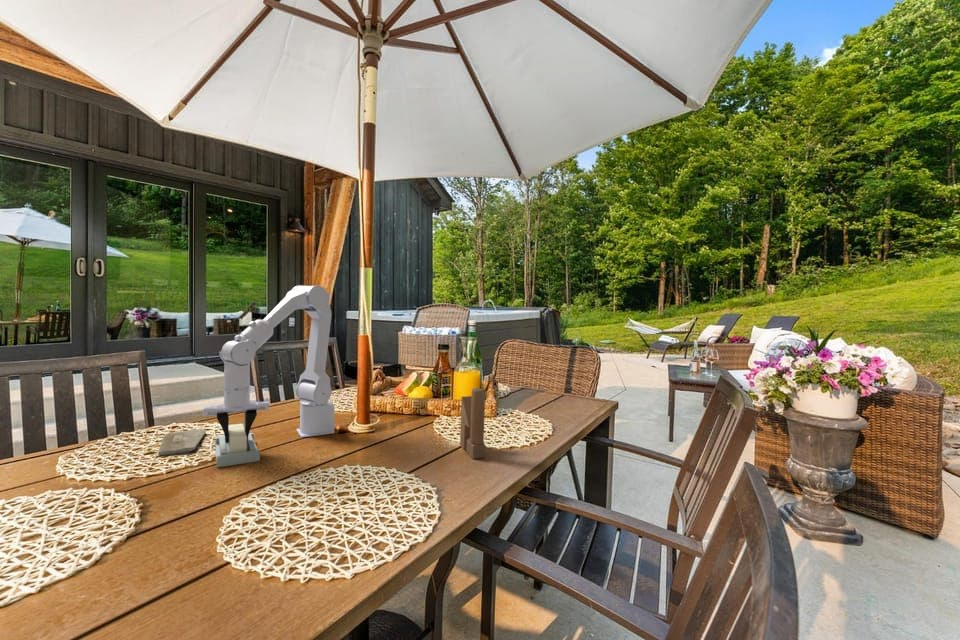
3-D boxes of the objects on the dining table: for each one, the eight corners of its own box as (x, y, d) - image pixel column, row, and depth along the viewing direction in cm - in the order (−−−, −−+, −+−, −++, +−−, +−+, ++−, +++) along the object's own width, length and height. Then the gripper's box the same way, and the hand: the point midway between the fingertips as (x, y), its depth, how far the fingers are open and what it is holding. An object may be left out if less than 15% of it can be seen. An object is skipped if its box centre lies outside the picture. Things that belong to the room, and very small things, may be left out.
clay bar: (227, 443, 114) (227, 425, 114) (242, 441, 116) (242, 423, 116) (230, 458, 104) (230, 438, 104) (246, 456, 106) (246, 436, 106)
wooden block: (471, 444, 123) (473, 382, 122) (485, 458, 113) (487, 390, 112) (459, 446, 122) (461, 383, 121) (472, 459, 112) (474, 391, 111)
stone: (165, 433, 122) (206, 425, 126) (166, 443, 122) (207, 435, 126) (152, 449, 106) (200, 440, 110) (153, 461, 106) (201, 451, 110)
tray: (253, 441, 119) (253, 430, 119) (259, 460, 106) (259, 448, 106) (215, 446, 114) (215, 435, 114) (217, 467, 101) (217, 455, 101)
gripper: (203, 393, 102) (203, 449, 103) (270, 388, 110) (270, 440, 111) (203, 388, 108) (203, 441, 109) (267, 383, 116) (266, 433, 117)
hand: (236, 440), depth 110 cm, fingers closed on clay bar, 3 cm apart
